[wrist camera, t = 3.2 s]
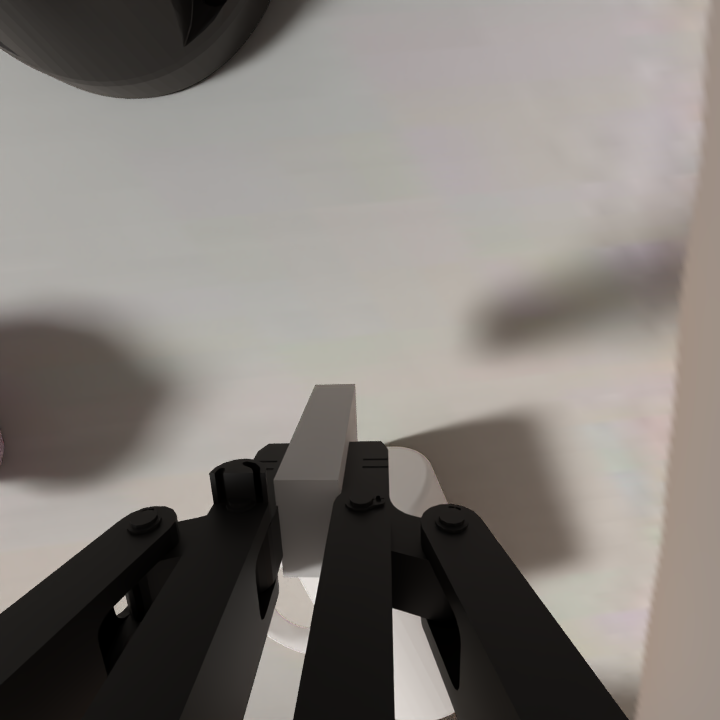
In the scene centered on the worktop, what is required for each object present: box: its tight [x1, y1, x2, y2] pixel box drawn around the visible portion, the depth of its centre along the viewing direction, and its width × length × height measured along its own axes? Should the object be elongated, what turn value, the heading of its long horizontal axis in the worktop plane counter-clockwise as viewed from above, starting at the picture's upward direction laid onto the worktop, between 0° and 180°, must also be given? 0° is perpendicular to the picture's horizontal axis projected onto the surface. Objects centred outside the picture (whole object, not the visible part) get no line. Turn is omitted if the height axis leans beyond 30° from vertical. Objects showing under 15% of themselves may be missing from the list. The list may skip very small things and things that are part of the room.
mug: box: [267, 446, 455, 720], centre depth 22 cm, size 12×10×8 cm
